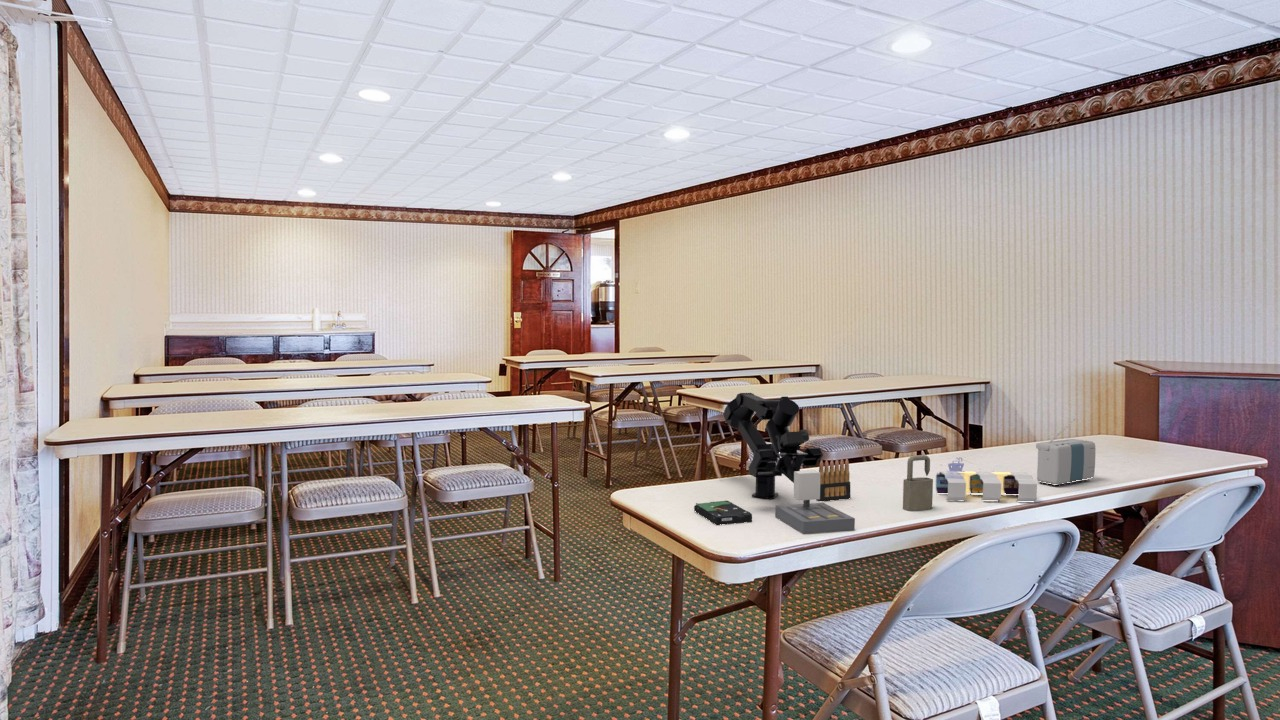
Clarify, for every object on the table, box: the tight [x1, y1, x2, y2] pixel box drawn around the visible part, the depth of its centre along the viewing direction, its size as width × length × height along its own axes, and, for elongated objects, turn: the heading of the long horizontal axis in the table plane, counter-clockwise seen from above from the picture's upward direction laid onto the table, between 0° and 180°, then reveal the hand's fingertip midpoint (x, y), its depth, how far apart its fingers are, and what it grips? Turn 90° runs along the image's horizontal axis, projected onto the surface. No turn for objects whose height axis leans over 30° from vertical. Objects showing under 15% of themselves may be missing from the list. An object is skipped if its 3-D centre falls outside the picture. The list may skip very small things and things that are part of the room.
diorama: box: [935, 457, 1038, 502], centre depth 218 cm, size 25×10×13 cm, turn 87°
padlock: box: [902, 454, 934, 512], centre depth 206 cm, size 4×8×15 cm, turn 111°
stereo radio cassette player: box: [1035, 418, 1096, 484], centre depth 241 cm, size 21×8×20 cm, turn 119°
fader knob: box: [793, 469, 820, 507], centre depth 194 cm, size 3×6×9 cm, turn 105°
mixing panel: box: [774, 502, 856, 535], centre depth 190 cm, size 16×14×3 cm
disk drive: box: [693, 500, 753, 526], centre depth 197 cm, size 10×3×15 cm
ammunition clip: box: [816, 457, 852, 502], centre depth 216 cm, size 11×2×12 cm, turn 111°
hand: (797, 484), depth 199 cm, fingers closed
